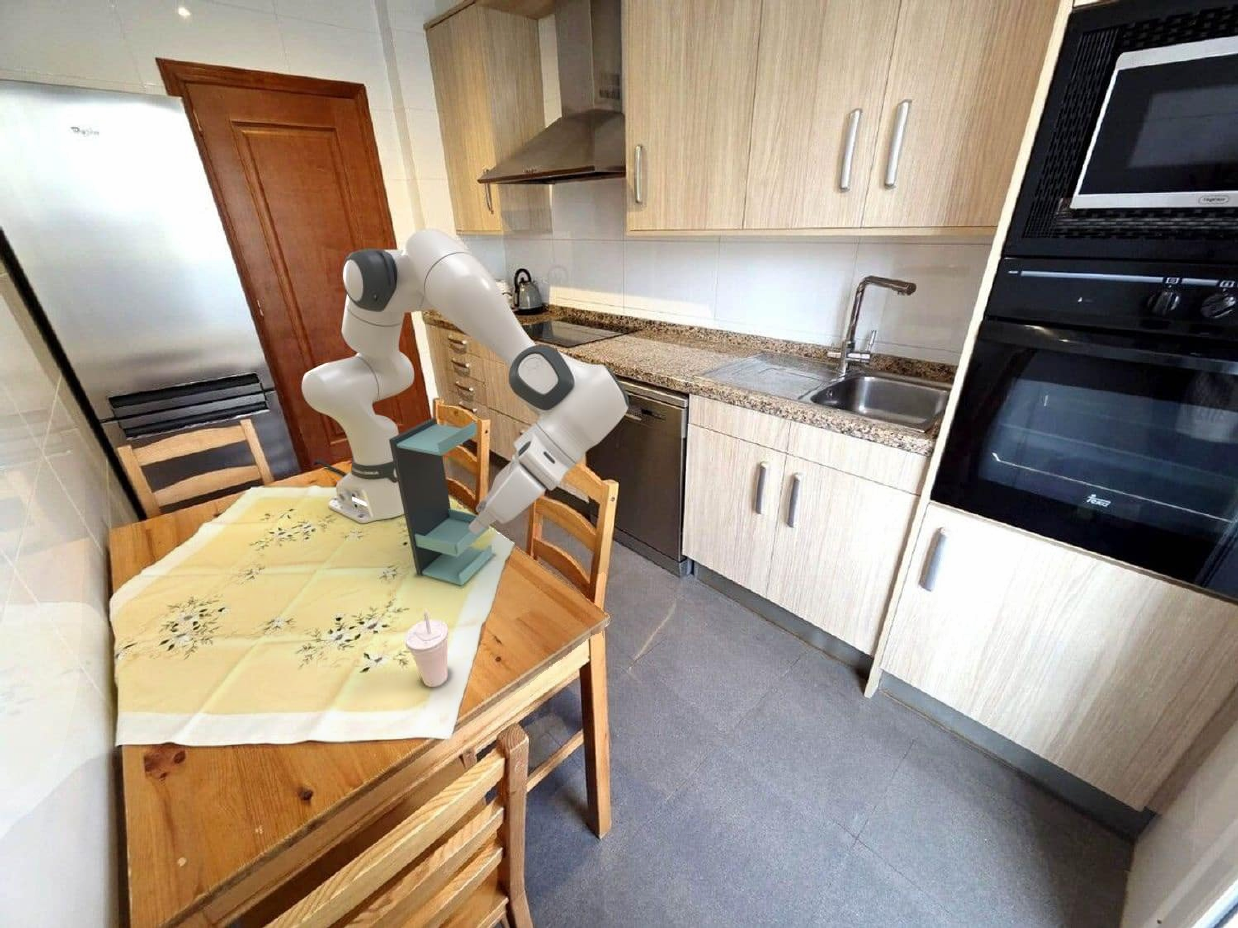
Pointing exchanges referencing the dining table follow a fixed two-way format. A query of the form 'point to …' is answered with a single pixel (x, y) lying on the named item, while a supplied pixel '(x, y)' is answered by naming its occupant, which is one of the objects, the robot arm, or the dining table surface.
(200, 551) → the dining table surface
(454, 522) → the rack
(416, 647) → the smoothie
